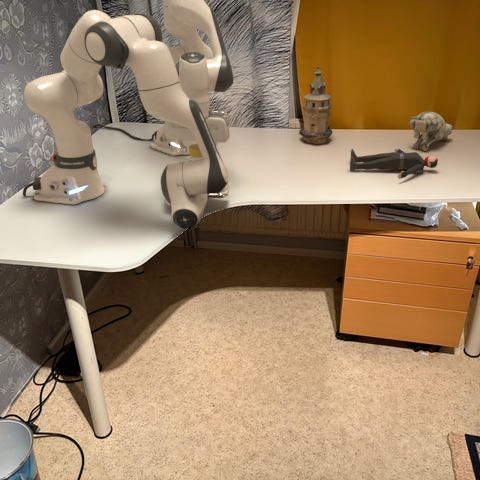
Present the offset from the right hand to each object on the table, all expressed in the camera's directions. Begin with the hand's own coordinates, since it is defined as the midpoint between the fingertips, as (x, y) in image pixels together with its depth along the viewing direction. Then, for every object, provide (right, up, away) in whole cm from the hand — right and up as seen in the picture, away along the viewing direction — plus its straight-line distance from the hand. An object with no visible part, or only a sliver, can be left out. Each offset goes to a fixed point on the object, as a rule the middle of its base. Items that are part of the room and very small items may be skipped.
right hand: (198, 153), depth 168 cm
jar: (0, -12, +7) cm, 14 cm away
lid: (0, +2, -1) cm, 2 cm away
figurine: (+88, +10, +45) cm, 100 cm away
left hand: (0, -7, +5) cm, 9 cm away
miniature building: (+44, +14, +52) cm, 70 cm away
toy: (+68, -2, +24) cm, 72 cm away
